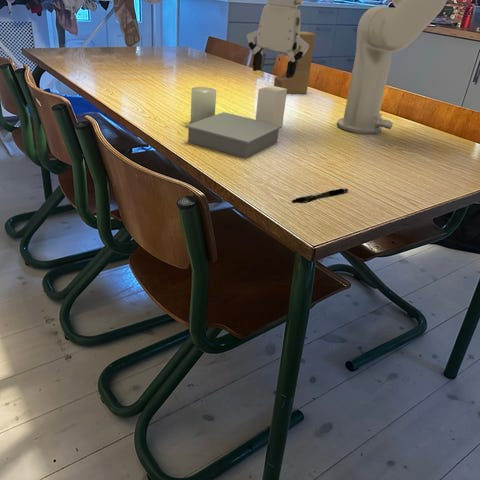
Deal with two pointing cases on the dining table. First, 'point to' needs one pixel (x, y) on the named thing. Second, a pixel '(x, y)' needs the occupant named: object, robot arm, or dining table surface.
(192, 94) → the grey cylinder
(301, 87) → the decorative block
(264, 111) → the carton
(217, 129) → the podium
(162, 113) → the dining table surface
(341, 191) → the pen
